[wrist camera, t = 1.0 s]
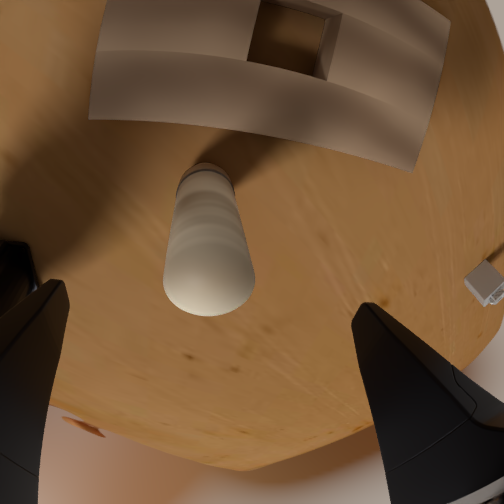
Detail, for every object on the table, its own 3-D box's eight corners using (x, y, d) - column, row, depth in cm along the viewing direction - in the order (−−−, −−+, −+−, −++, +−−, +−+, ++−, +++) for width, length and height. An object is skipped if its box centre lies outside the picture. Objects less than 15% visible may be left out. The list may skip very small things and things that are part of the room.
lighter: (465, 285, 30) (500, 328, 23) (464, 278, 29) (501, 322, 22) (499, 253, 28) (536, 290, 21) (499, 245, 27) (538, 283, 21)
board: (393, 161, 19) (412, 173, 17) (102, 113, 15) (88, 119, 12) (428, 22, 13) (450, 21, 11) (140, -57, 8) (132, -72, 6)
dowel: (226, 207, 20) (246, 318, 11) (177, 202, 19) (161, 313, 11) (235, 160, 18) (265, 247, 10) (182, 154, 17) (163, 238, 9)
